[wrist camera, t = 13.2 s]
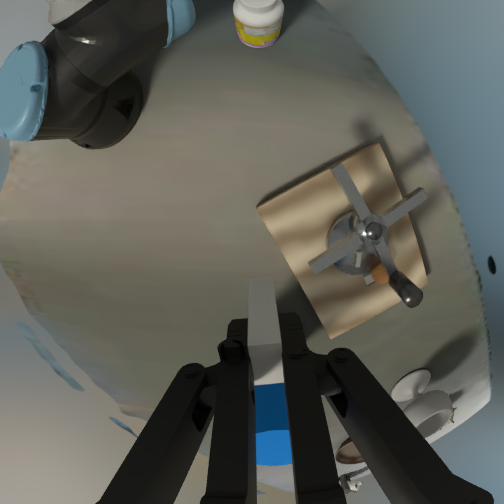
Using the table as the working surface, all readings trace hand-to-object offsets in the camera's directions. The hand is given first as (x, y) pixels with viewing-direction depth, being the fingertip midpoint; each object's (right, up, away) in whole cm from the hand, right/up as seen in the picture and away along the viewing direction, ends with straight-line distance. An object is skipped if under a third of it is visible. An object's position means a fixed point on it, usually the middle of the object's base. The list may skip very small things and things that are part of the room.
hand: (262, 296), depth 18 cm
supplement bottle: (0, +38, +15) cm, 41 cm away
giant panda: (+35, -86, +59) cm, 110 cm away
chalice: (+41, -32, +39) cm, 65 cm away
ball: (+21, 0, +25) cm, 33 cm away
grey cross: (+16, +8, +23) cm, 29 cm away
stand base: (+16, +4, +27) cm, 32 cm away
